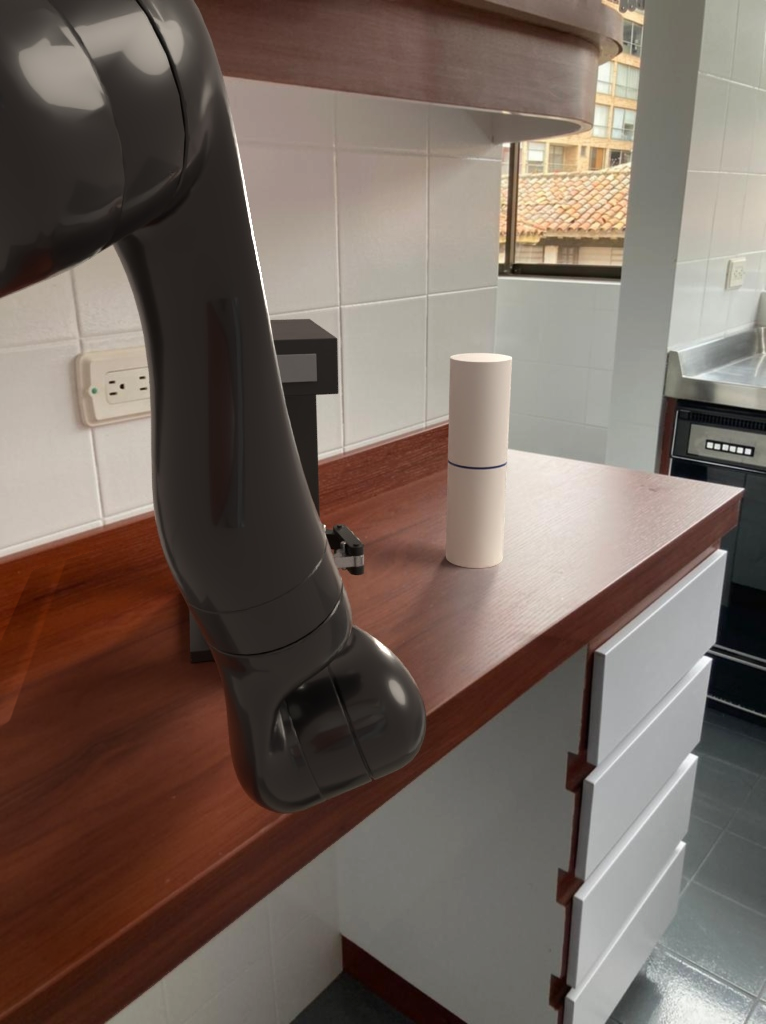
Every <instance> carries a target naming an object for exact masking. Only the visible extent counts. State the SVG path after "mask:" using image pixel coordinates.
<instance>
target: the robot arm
mask: <svg viewBox="0 0 766 1024" xmlns="http://www.w3.org/2000/svg"><path fill="white" fill-rule="evenodd" d="M203 17H204V16H203V15H202V13H201V11H200V8H199V6H198V5H197V4H196V2H195V0H0V300H2V299H4V298H7V297H10V296H12V295H14V294H17V293H19V292H21V291H24V290H27V289H28V288H31V287H33V286H36V285H38V284H41V283H43V282H46V281H48V280H51V279H53V278H55V277H58V276H59V275H60V276H61V275H62V274H64V273H66V272H68V271H70V270H73V269H74V268H76V267H78V266H80V265H82V264H84V263H86V262H87V261H89V260H91V259H93V258H94V257H95V256H97V255H99V254H100V253H102V252H104V251H105V250H107V249H109V248H110V247H111V246H112V247H113V248H114V250H115V252H116V255H117V257H118V259H119V261H120V263H121V266H122V268H123V271H124V273H125V275H126V278H127V281H128V283H129V286H130V289H131V292H132V295H133V299H134V302H135V307H136V310H137V314H138V316H139V317H138V318H139V321H140V326H141V331H142V334H143V343H144V350H145V356H146V363H147V370H148V383H149V406H150V457H151V458H150V465H151V467H150V468H151V469H150V470H151V493H152V504H153V506H152V507H153V511H154V513H153V514H154V519H155V525H156V531H157V535H158V536H157V537H158V539H159V543H160V546H161V549H162V553H163V556H164V559H165V561H166V564H167V566H168V569H169V571H170V573H171V575H172V578H173V581H174V582H175V585H176V586H177V588H178V591H179V592H180V594H181V595H182V598H183V599H184V601H185V603H186V605H187V607H188V610H189V609H190V611H191V613H192V615H193V617H194V619H195V621H196V623H197V625H198V626H199V628H200V630H201V632H202V634H203V636H204V638H205V640H206V642H207V644H208V646H209V648H210V650H211V652H212V654H213V657H214V660H213V661H214V662H215V664H216V667H217V670H218V674H219V676H220V680H221V681H220V682H221V685H222V689H223V695H224V701H225V710H226V721H227V722H226V723H227V731H228V732H227V733H228V744H229V751H230V757H231V761H232V764H233V765H232V766H233V769H234V772H235V773H234V774H235V775H236V778H237V780H238V783H239V784H240V786H241V789H242V790H243V791H244V793H245V794H246V795H247V797H248V798H249V799H250V800H251V801H252V802H254V803H255V804H256V805H258V806H259V807H261V808H263V809H265V810H267V811H270V812H273V813H276V814H283V815H287V814H288V815H289V814H295V813H299V812H302V811H305V810H308V809H310V808H313V807H316V806H318V805H319V804H323V803H325V802H326V801H329V800H331V799H334V798H335V797H338V796H340V795H343V794H345V793H347V792H350V791H352V790H355V789H357V788H359V787H362V786H364V785H367V784H369V783H371V782H372V780H374V781H376V780H379V779H381V778H383V777H386V776H389V775H390V774H393V773H395V772H397V771H400V770H401V769H402V768H404V767H405V766H407V765H408V764H410V763H411V761H413V760H414V759H415V758H416V756H417V754H418V753H419V752H420V750H421V747H422V745H423V743H424V740H425V737H426V733H427V711H426V706H425V705H426V704H425V701H424V698H423V695H422V692H421V690H420V688H419V686H418V684H417V682H416V680H415V679H414V676H412V674H411V672H410V671H409V669H408V668H407V667H406V666H405V664H404V663H403V662H402V661H401V660H400V658H399V656H397V655H396V654H395V653H394V652H393V651H392V650H391V648H388V647H387V645H385V644H384V643H383V642H382V641H380V640H379V639H378V638H377V637H375V636H373V635H372V634H370V633H369V632H367V631H366V630H364V629H362V628H361V627H359V626H357V625H356V624H354V620H353V610H352V605H351V602H350V598H349V595H348V591H347V589H346V587H345V586H346V585H345V583H344V580H343V578H342V575H341V572H340V570H339V569H341V571H346V570H347V572H348V574H350V575H351V576H361V575H363V574H365V544H364V543H363V542H362V541H361V540H360V539H359V538H358V537H357V535H356V534H355V533H354V532H353V531H352V530H351V529H350V528H349V527H348V525H346V524H342V523H341V524H340V523H339V524H335V525H333V526H332V529H331V528H326V524H324V523H322V520H321V517H320V518H319V515H318V513H317V510H316V508H315V505H314V502H313V500H312V497H311V494H310V491H309V488H308V485H307V481H306V478H305V475H304V472H303V468H302V465H301V461H300V458H299V454H298V451H297V447H296V443H295V440H294V436H293V432H292V428H291V424H290V420H289V416H288V412H287V407H286V402H285V397H284V392H283V387H282V382H281V377H280V372H279V367H278V361H277V356H276V351H275V346H274V341H273V335H272V329H271V324H270V320H271V318H270V313H269V308H268V302H267V298H266V293H265V287H264V282H263V277H262V272H261V266H260V261H259V256H258V251H257V246H256V240H255V236H254V229H253V224H252V218H251V212H250V207H249V200H248V195H247V189H246V183H245V178H244V172H243V165H242V161H241V155H240V149H239V143H238V138H237V133H236V128H235V123H234V119H233V114H232V109H231V105H230V99H229V96H228V95H229V94H228V92H227V87H226V84H225V83H226V82H225V80H224V75H223V73H222V69H221V66H220V63H219V59H218V56H217V52H216V49H215V47H214V42H213V39H212V37H211V35H210V32H209V30H208V27H207V25H206V23H205V20H204V18H203Z"/></svg>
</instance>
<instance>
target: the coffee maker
mask: <svg viewBox="0 0 766 1024" xmlns="http://www.w3.org/2000/svg"><path fill="white" fill-rule="evenodd" d="M270 324H271V329H272V335H273V341H274V346H275V351H276V356H277V361H278V367H279V372H280V377H281V382H282V387H283V392H284V397H285V402H286V407H287V412H288V416H289V420H290V424H291V428H292V432H293V436H294V440H295V443H296V447H297V451H298V454H299V458H300V461H301V465H302V468H303V472H304V475H305V478H306V481H307V485H308V488H309V491H310V494H311V497H312V500H313V502H314V505H315V508H316V510H317V513H318V515H319V518H320V519H321V512H320V509H321V508H320V507H321V506H320V480H319V479H320V476H319V446H318V445H319V442H318V441H319V440H318V411H317V410H318V409H317V408H318V405H317V396H322V395H339V390H340V389H339V350H338V349H339V348H338V347H339V346H338V337H337V336H335V335H333V334H332V333H331V332H329V331H327V330H326V329H325V328H323V326H320V325H319V324H317V323H316V322H315V321H313V320H312V319H310V318H294V319H293V318H289V319H288V318H287V319H270ZM188 613H189V614H188V615H189V656H190V663H192V664H193V663H202V662H213V661H215V660H214V657H213V654H212V652H211V650H210V648H209V646H208V644H207V642H206V640H205V638H204V636H203V634H202V632H201V630H200V628H199V626H198V625H197V623H196V621H195V619H194V617H193V615H192V613H191V611H190V609H189V608H188Z"/></svg>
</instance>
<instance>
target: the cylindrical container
mask: <svg viewBox="0 0 766 1024" xmlns="http://www.w3.org/2000/svg"><path fill="white" fill-rule="evenodd" d="M512 367H513V357H512V356H511V355H507V354H502V353H492V352H467V353H457V354H453V355H450V357H449V387H448V388H449V392H448V394H449V395H448V433H447V434H448V435H447V438H448V439H447V475H446V478H447V479H446V522H445V525H446V526H445V559H446V561H448V562H449V563H451V564H452V565H454V566H458V567H462V568H468V569H487V568H491V567H494V566H495V567H496V566H497V565H499V564H501V562H502V561H503V557H504V537H505V535H504V534H505V517H506V516H505V515H506V495H507V474H508V473H507V472H508V456H509V455H508V453H509V429H510V413H511V412H510V411H511V391H512V389H511V387H512V371H513V369H512Z"/></svg>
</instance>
